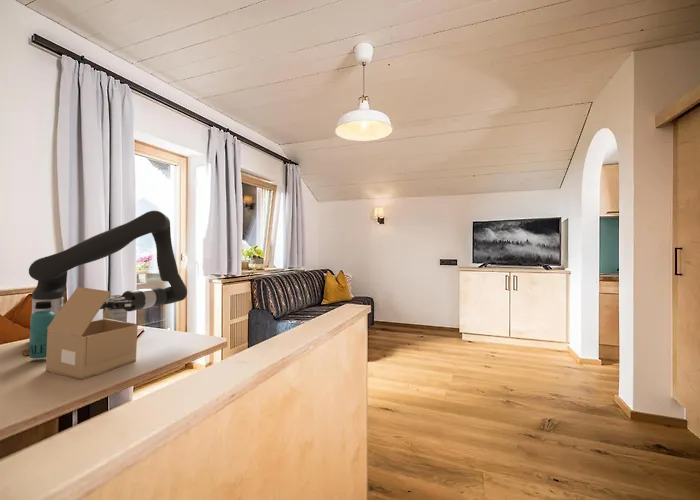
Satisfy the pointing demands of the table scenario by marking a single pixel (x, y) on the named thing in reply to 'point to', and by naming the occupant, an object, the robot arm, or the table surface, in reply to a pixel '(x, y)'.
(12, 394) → the table surface
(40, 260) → the robot arm
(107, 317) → the coffee box
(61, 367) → the carton
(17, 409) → the table surface
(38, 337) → the beverage bottle
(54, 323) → the carton flap
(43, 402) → the table surface
